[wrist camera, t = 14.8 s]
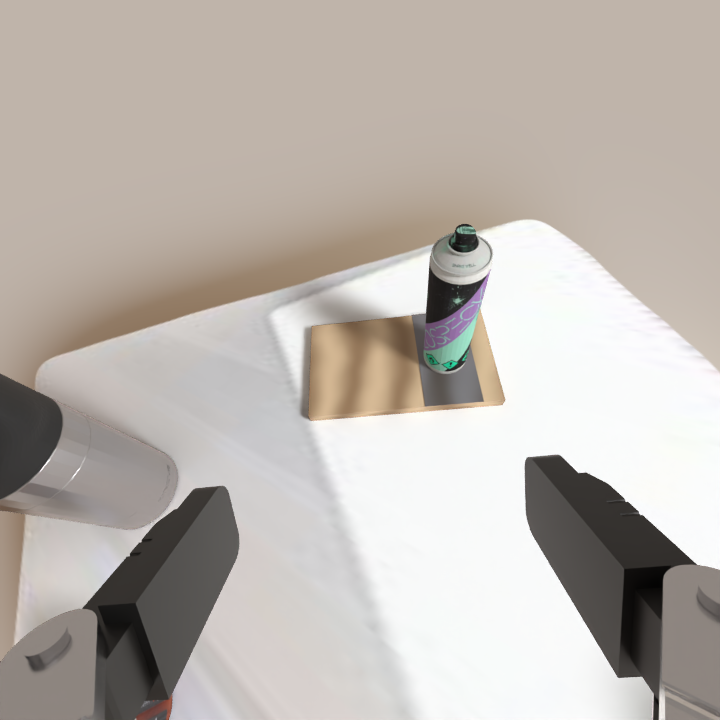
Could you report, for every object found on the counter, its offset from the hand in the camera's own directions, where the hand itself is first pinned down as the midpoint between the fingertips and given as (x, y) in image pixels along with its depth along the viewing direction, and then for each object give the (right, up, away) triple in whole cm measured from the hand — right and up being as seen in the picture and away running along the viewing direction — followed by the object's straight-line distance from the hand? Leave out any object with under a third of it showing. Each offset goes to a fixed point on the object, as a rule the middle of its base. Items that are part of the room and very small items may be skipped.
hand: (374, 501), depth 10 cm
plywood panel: (+5, +3, +39) cm, 39 cm away
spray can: (+11, +4, +37) cm, 39 cm away
